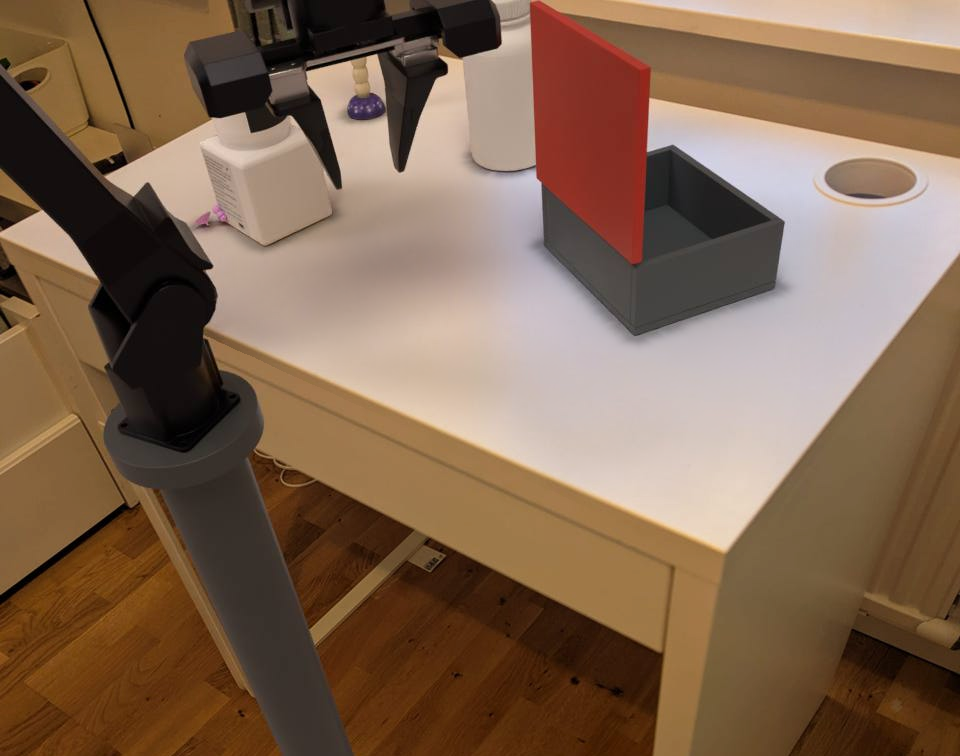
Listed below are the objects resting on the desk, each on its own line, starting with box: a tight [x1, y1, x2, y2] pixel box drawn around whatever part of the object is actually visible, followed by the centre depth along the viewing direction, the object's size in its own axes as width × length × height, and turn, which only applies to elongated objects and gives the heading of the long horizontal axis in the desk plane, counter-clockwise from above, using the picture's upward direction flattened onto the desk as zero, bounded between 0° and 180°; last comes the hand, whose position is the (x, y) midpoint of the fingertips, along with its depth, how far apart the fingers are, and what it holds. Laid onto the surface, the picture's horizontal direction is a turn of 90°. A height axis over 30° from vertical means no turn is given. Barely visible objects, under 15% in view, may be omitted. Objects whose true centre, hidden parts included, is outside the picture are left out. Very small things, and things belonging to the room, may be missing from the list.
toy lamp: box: [346, 57, 387, 121], centre depth 98 cm, size 5×5×17 cm
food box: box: [540, 144, 786, 336], centre depth 74 cm, size 12×15×6 cm
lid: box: [530, 0, 652, 264], centre depth 66 cm, size 13×15×1 cm
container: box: [199, 104, 333, 247], centre depth 83 cm, size 8×8×13 cm
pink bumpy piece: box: [194, 204, 227, 226], centre depth 87 cm, size 3×2×2 cm
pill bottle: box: [462, 0, 536, 172], centre depth 88 cm, size 8×8×15 cm
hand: (368, 178), depth 63 cm, fingers open, 4 cm apart
